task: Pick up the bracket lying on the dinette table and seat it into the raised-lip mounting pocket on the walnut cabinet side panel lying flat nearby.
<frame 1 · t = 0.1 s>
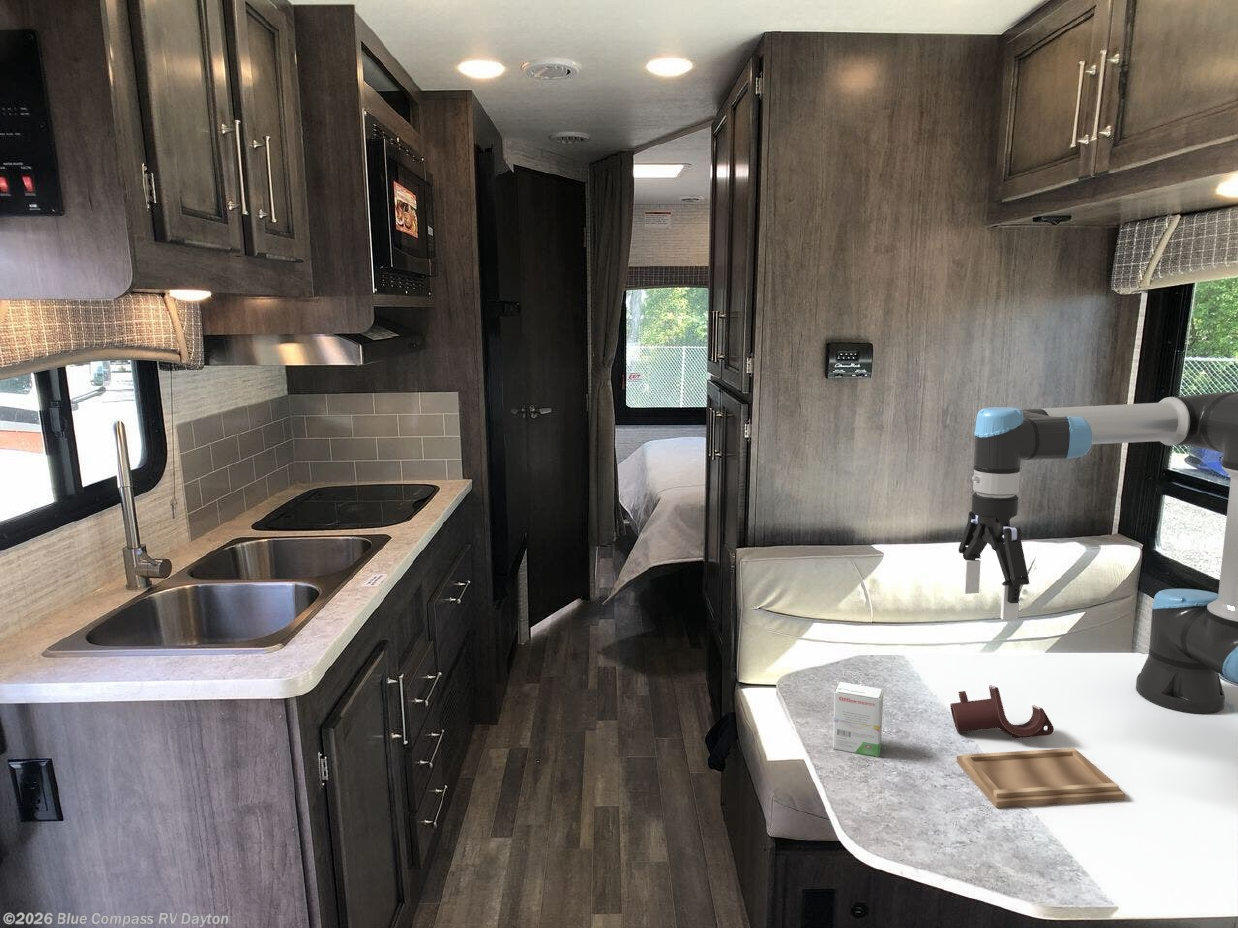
hand: (989, 605, 144), 28 cm above the table, fingers open, 13 cm apart
side panel: (1036, 779, 136), on the table
bracket: (999, 734, 152), on the table
ink box: (857, 747, 149), on the table
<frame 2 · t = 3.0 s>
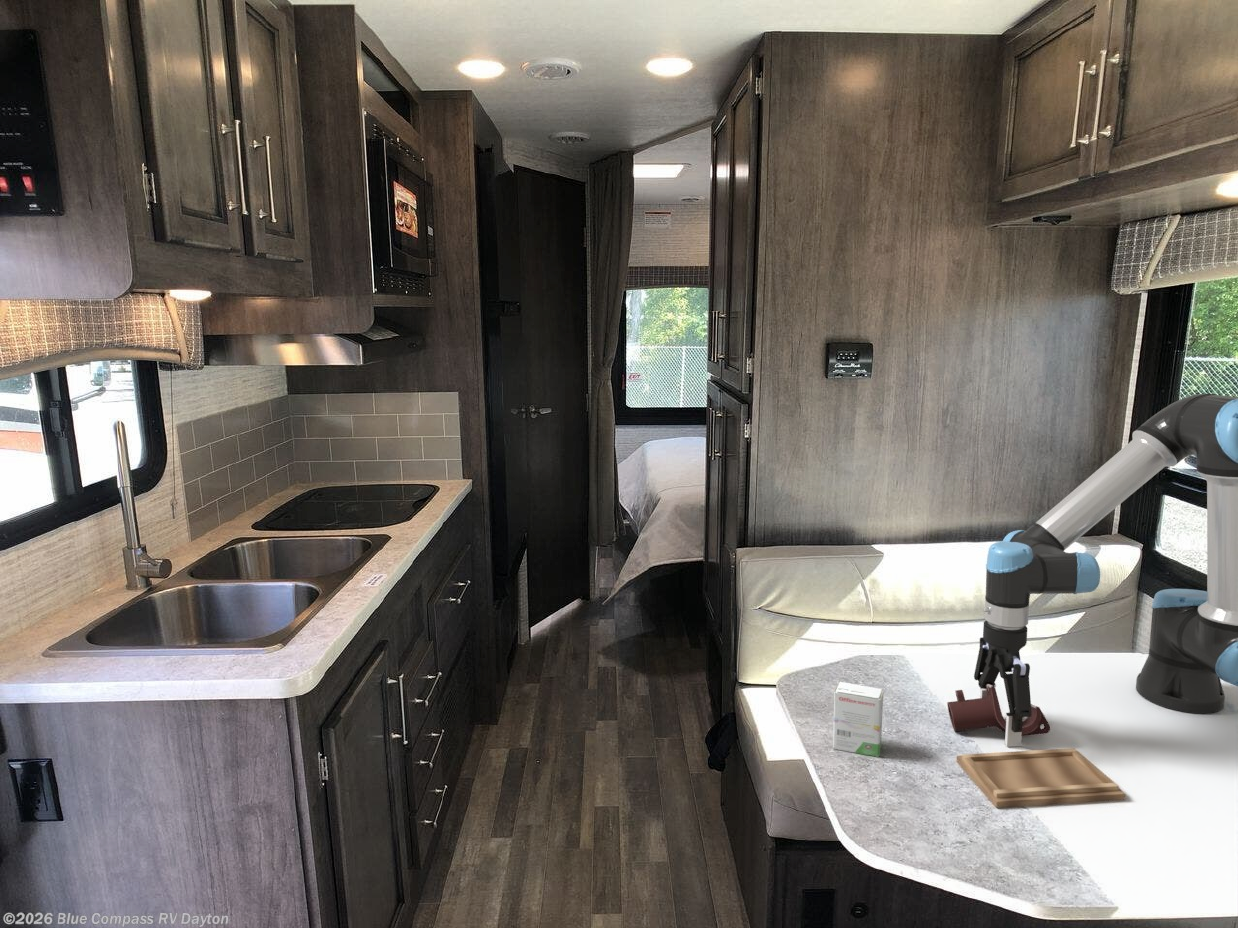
hand: (999, 731, 152), 0 cm above the table, fingers open, 9 cm apart
bracket: (996, 732, 153), on the table, touching gripper
everything else where it was.
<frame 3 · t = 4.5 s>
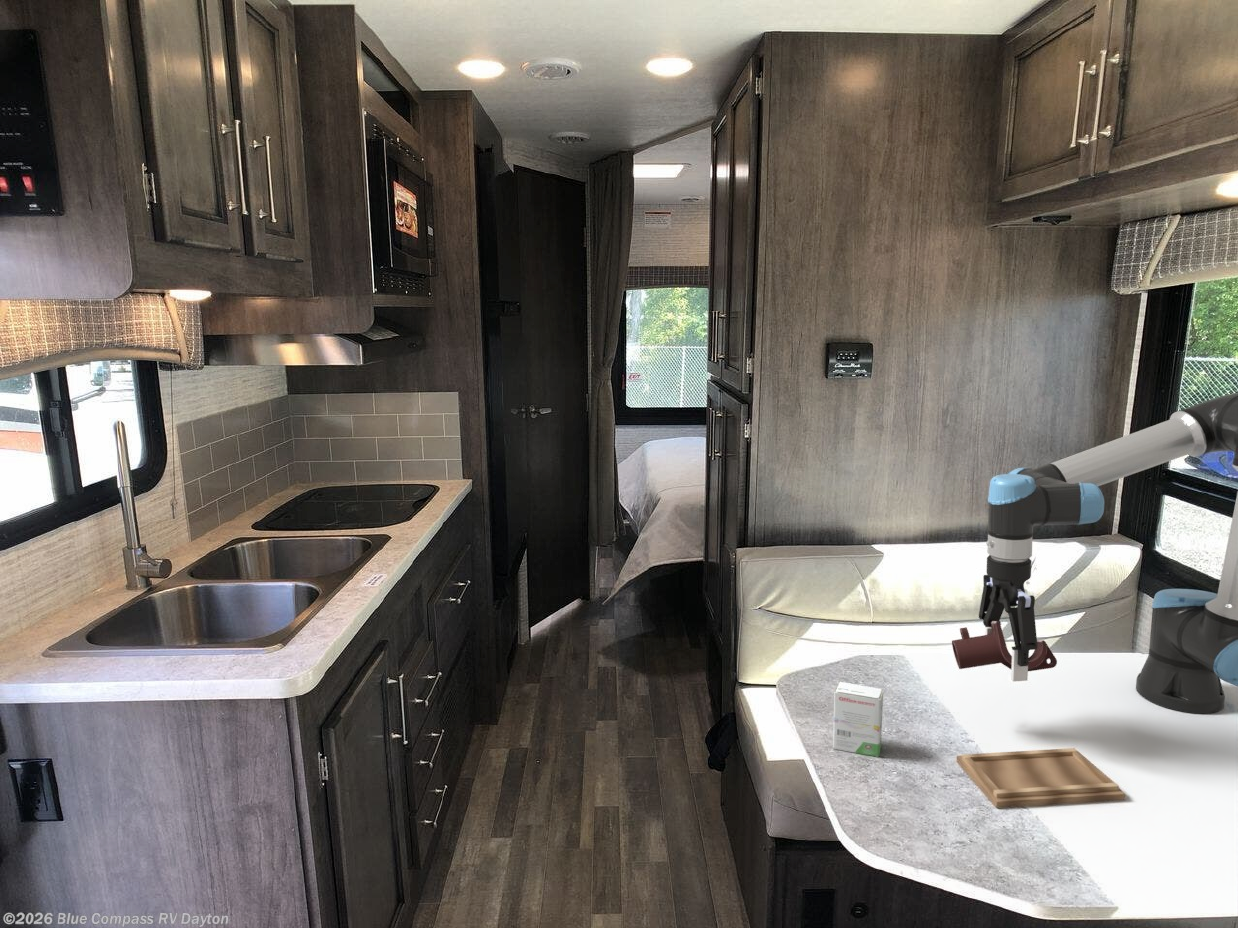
hand: (1005, 668, 150), 13 cm above the table, fingers closed on bracket, 9 cm apart
bracket: (1001, 669, 151), point 13 cm above the table, touching gripper
everything else where it was.
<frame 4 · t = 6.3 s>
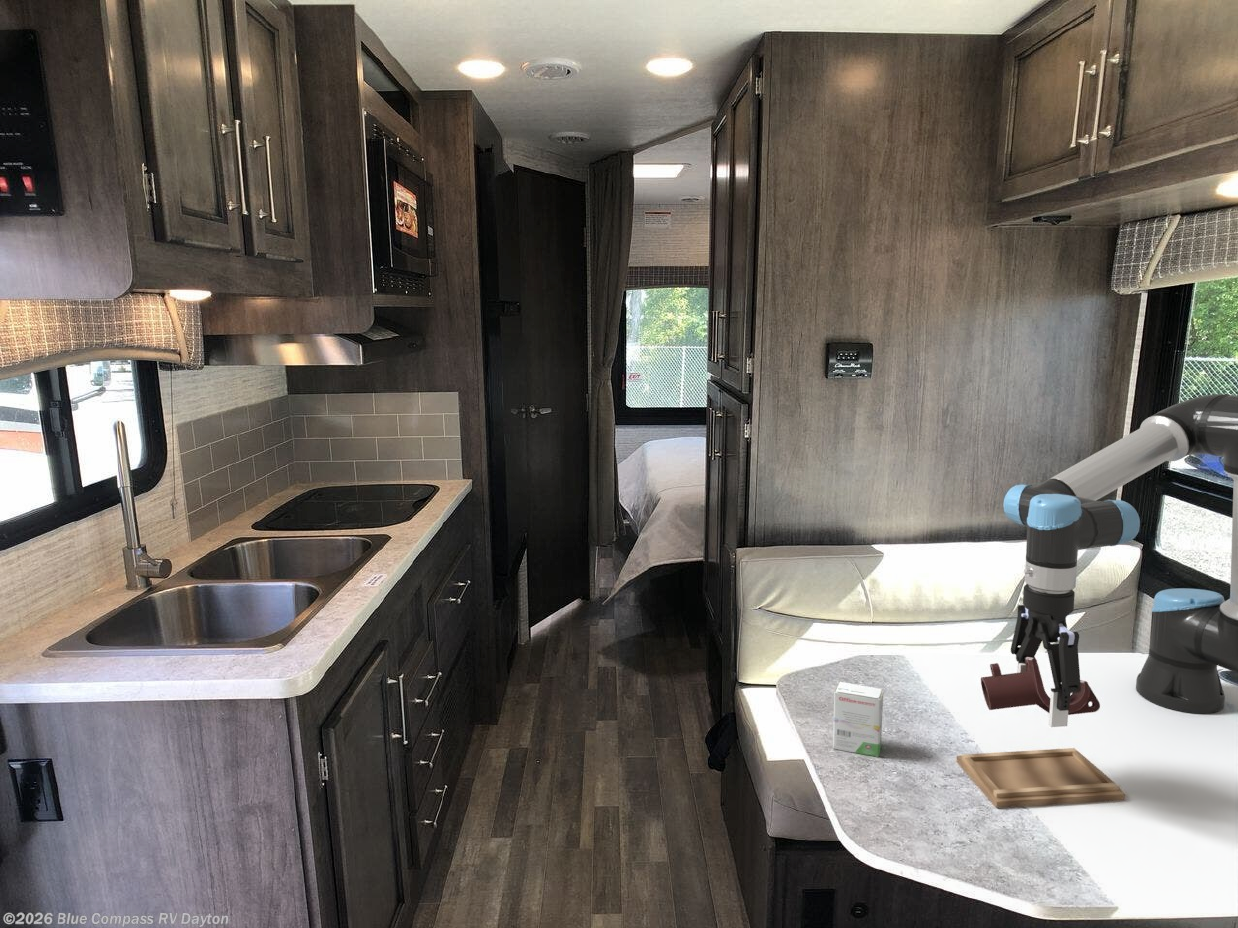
hand: (1040, 711, 134), 13 cm above the table, fingers closed on bracket, 9 cm apart
bracket: (1036, 711, 135), point 13 cm above the table, touching gripper
everything else where it was.
when the fingers open (3 cm above the table, at t = 8.8 s): bracket drops 1 cm, resting on side panel.
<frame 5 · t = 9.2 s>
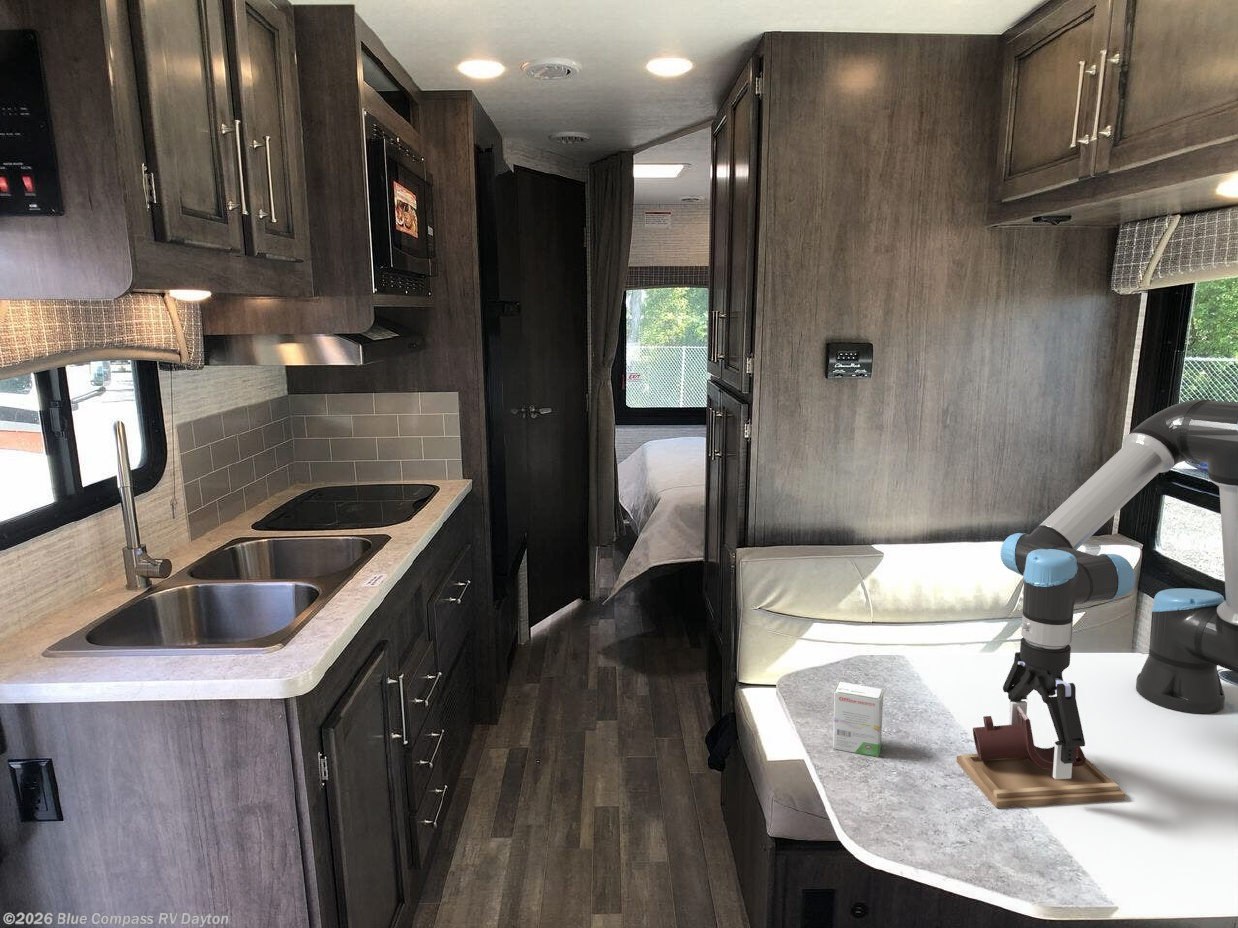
hand: (1038, 755, 136), 5 cm above the table, fingers open, 13 cm apart
bracket: (1024, 758, 140), point 2 cm above the table, touching gripper, side panel
everything else where it was.
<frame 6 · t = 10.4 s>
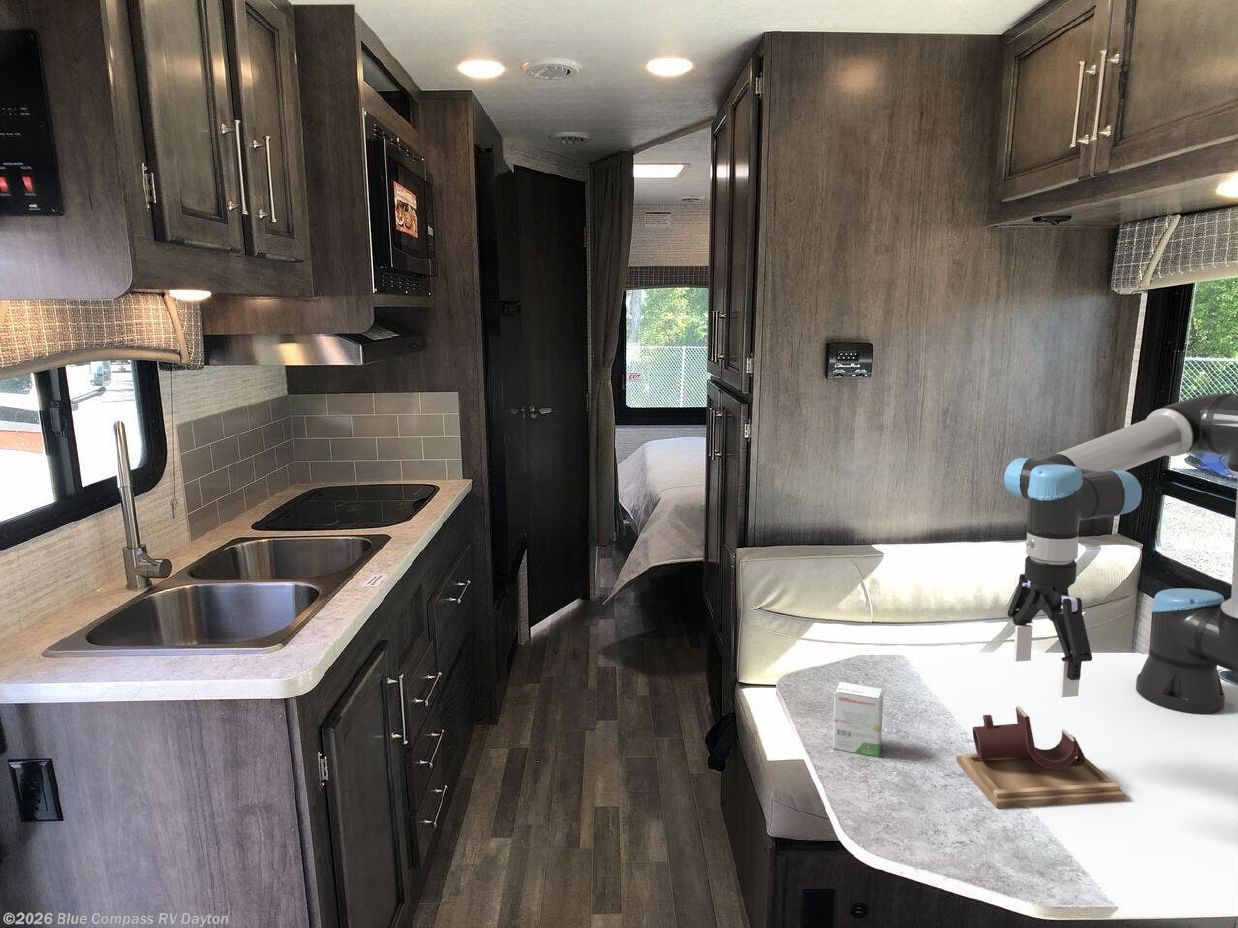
hand: (1044, 677, 133), 19 cm above the table, fingers open, 13 cm apart
bracket: (1023, 759, 140), point 2 cm above the table, touching side panel
everything else where it was.
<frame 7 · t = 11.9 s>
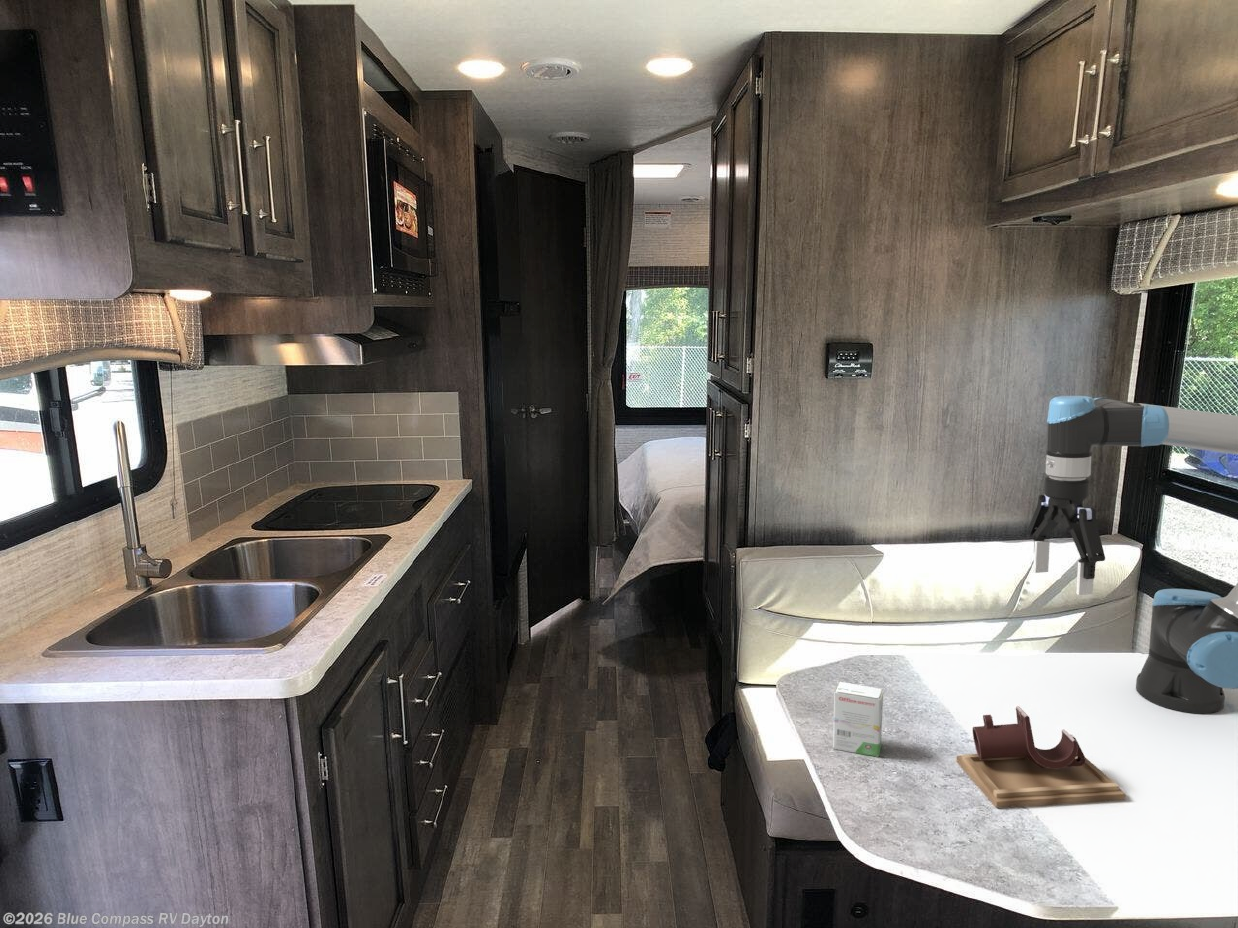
hand: (1061, 582, 153), 28 cm above the table, fingers open, 13 cm apart
nothing on the table moved.
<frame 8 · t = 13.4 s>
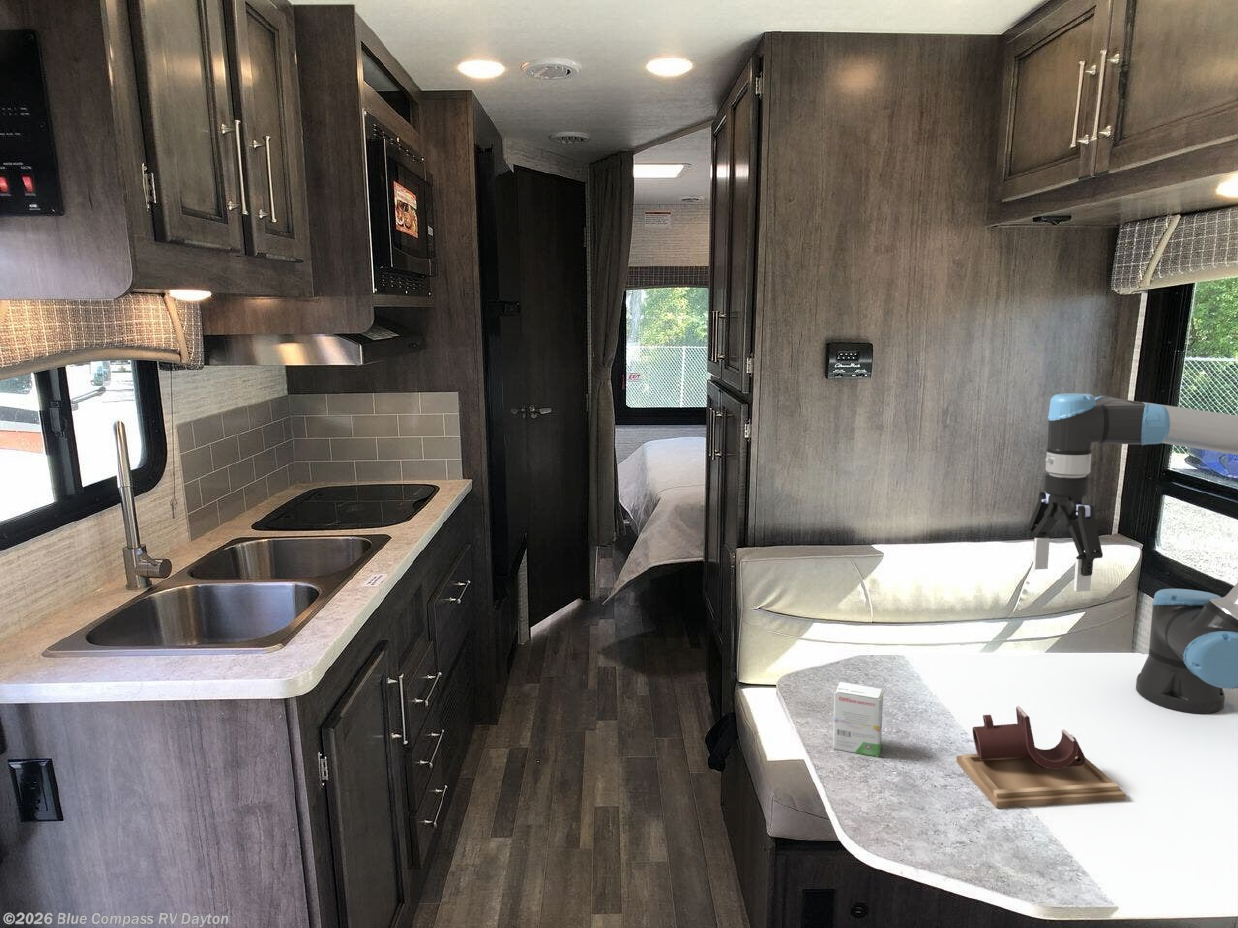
hand: (1060, 579, 154), 29 cm above the table, fingers open, 13 cm apart
nothing on the table moved.
at the end: bracket inside the target area on the side panel (3.8 cm from its centre), point 1.6 cm above the side panel's base; bracket touching side panel; the gripper is holding nothing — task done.
